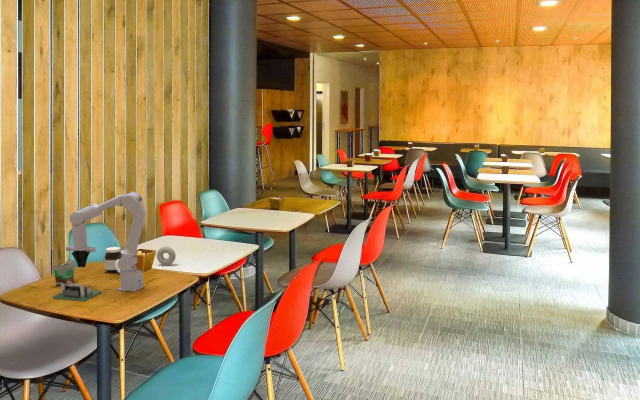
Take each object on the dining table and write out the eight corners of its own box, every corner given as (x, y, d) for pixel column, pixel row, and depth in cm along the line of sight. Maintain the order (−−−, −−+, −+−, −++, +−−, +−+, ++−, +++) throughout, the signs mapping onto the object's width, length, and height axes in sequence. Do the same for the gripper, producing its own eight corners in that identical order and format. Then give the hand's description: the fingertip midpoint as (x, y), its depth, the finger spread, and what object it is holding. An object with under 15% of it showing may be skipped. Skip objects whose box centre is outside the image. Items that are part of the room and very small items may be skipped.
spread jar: (110, 268, 307) (109, 246, 305) (132, 268, 307) (131, 246, 305) (101, 274, 295) (99, 251, 293) (123, 274, 295) (122, 251, 293)
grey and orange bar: (63, 286, 262) (63, 284, 262) (67, 285, 264) (67, 282, 264) (87, 288, 259) (87, 285, 258) (91, 287, 261) (90, 284, 261)
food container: (66, 287, 274) (64, 266, 273) (54, 286, 276) (52, 265, 274) (81, 280, 286) (80, 259, 285) (70, 279, 287) (68, 259, 286)
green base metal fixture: (53, 298, 258) (52, 286, 258) (71, 290, 270) (70, 278, 269) (84, 301, 254) (83, 288, 253) (102, 293, 265) (101, 280, 265)
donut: (176, 264, 313) (176, 245, 312) (174, 266, 310) (174, 247, 309) (158, 264, 314) (157, 245, 313) (156, 265, 311) (155, 247, 309)
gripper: (60, 238, 266) (62, 268, 268) (87, 240, 262) (89, 270, 264) (70, 235, 273) (72, 264, 275) (97, 236, 269) (99, 266, 271)
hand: (81, 266), depth 270 cm, fingers closed
